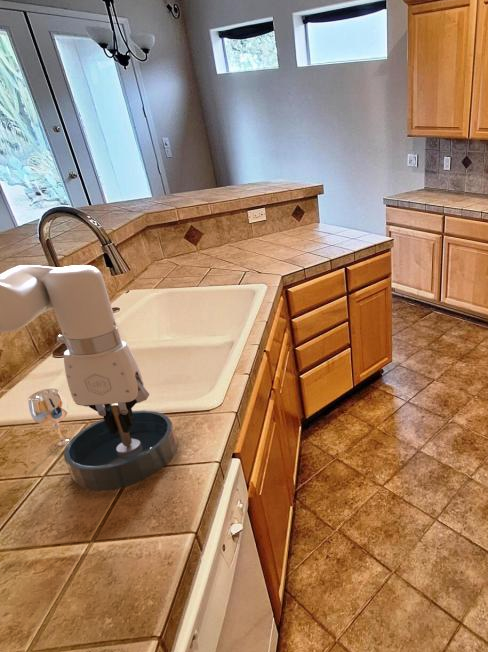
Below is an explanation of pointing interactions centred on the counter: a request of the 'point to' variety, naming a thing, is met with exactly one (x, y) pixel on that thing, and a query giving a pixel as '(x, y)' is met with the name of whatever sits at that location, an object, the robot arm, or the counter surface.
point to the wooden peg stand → (125, 439)
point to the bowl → (102, 458)
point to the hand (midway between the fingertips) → (122, 428)
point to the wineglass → (49, 409)
